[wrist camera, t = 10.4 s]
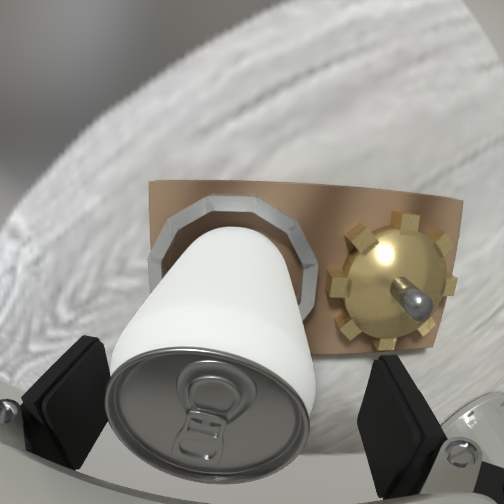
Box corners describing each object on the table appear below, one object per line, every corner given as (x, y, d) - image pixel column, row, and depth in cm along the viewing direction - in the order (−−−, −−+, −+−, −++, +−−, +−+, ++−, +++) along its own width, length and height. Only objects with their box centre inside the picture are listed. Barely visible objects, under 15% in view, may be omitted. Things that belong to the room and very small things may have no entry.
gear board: (451, 198, 18) (463, 200, 17) (424, 337, 21) (432, 347, 20) (156, 180, 19) (148, 181, 17) (165, 336, 22) (159, 347, 20)
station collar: (319, 197, 17) (323, 200, 16) (305, 345, 20) (307, 355, 19) (152, 193, 17) (144, 195, 16) (161, 338, 20) (156, 348, 19)
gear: (455, 216, 17) (496, 230, 13) (430, 335, 20) (459, 368, 15) (332, 205, 17) (355, 218, 13) (317, 340, 20) (330, 382, 15)
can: (302, 241, 18) (369, 367, 6) (269, 336, 20) (278, 501, 8) (193, 211, 18) (89, 293, 6) (171, 309, 19) (94, 456, 8)
